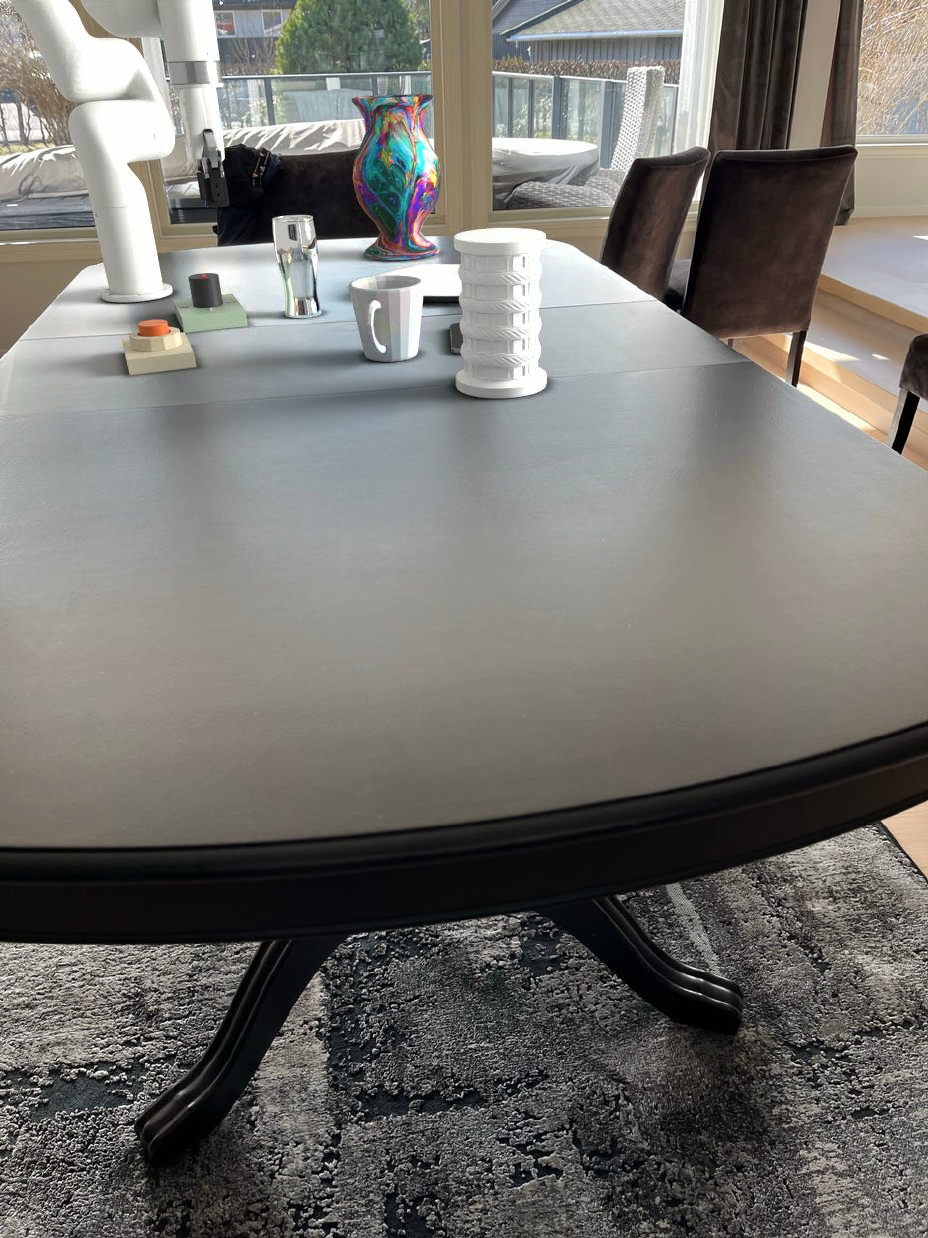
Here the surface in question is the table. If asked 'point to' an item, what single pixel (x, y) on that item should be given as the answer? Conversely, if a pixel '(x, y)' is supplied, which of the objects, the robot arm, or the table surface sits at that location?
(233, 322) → the dial panel
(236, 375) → the table surface
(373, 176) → the vase
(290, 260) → the beer glass
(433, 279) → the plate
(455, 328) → the smartphone
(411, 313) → the mug
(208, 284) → the dial
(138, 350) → the button block
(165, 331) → the button
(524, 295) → the decorative container
